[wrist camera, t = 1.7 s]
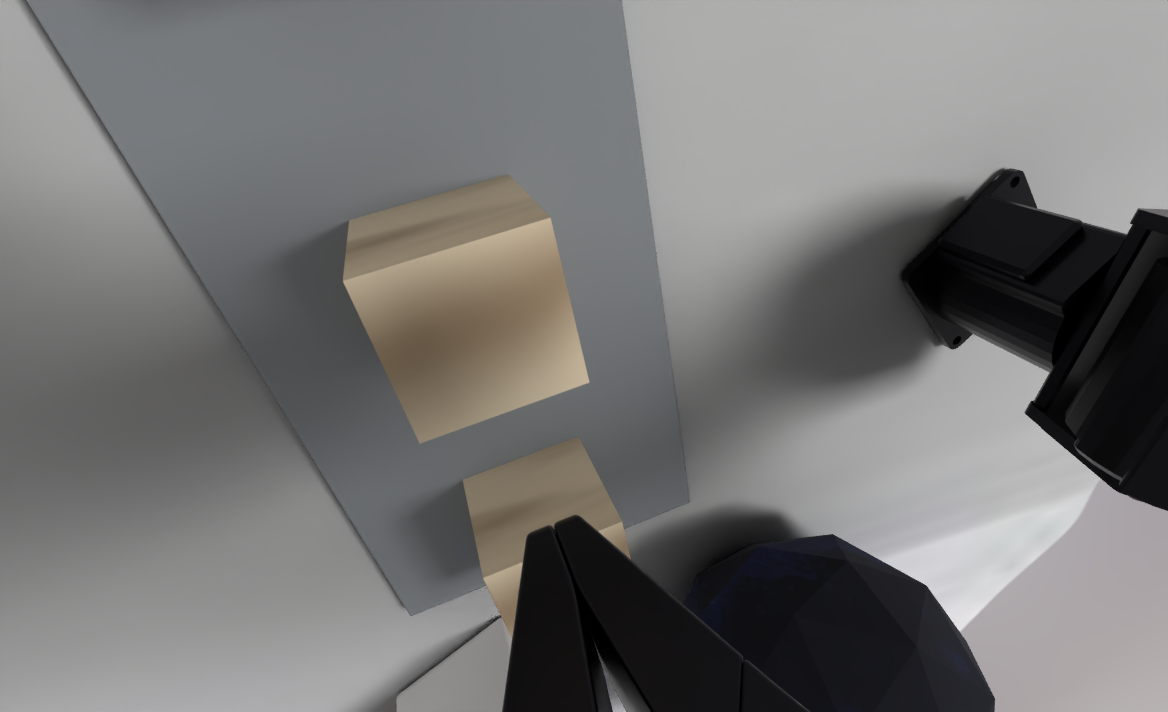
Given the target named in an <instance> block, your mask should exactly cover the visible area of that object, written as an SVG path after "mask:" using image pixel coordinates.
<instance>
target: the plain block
mask: <svg viewBox="0 0 1168 712" xmlns="http://www.w3.org/2000/svg"><path fill="white" fill-rule="evenodd" d="M343 283H344V285H345V287H346V289H347V291H348V293H349V295H350V297H351V300H352V302H353V304H354V306H355V308H356V310H357V312H358V314H359V317H360V319H361V321H362V323H363V325H364V327H365V329H366V331H367V333H368V336H369V338H370V340H371V342H372V344H373V346H374V348H375V350H376V352H377V355H378V357H379V359H380V361H381V363H382V365H383V367H384V369H385V371H386V374H387V376H388V378H389V380H390V382H391V384H392V386H393V388H394V390H395V393H396V395H397V397H398V399H399V401H400V403H401V405H402V407H403V409H404V412H405V414H406V416H407V418H408V420H409V422H410V424H411V426H412V428H413V431H414V433H415V435H416V437H417V439H418V441H419V443H423V442H426V441H429V440H431V439H434V438H437V437H440V436H442V435H445V434H448V433H451V432H454V431H456V430H459V429H462V428H465V427H467V426H470V425H473V424H476V423H479V422H481V421H484V420H487V419H490V418H492V417H495V416H498V415H501V414H504V413H506V412H509V411H512V410H515V409H517V408H520V407H523V406H526V405H529V404H531V403H534V402H537V401H540V400H542V399H545V398H548V397H551V396H554V395H556V394H559V393H562V392H565V391H567V390H570V389H573V388H576V387H579V386H581V385H584V384H587V383H590V382H589V378H588V374H587V370H586V366H585V361H584V357H583V353H582V349H581V344H580V340H579V336H578V332H577V327H576V323H575V319H574V315H573V311H572V306H571V302H570V298H569V294H568V289H567V285H566V281H565V277H564V272H563V268H562V264H561V260H560V256H559V251H558V247H557V243H556V239H555V234H554V230H553V226H552V222H551V218H550V217H549V215H548V214H547V213H546V212H545V211H544V210H543V209H542V208H541V207H540V206H539V205H538V204H537V203H536V202H535V201H534V200H533V199H532V198H531V197H530V196H529V195H528V194H527V193H526V192H525V191H524V190H523V189H522V188H521V186H520V185H519V184H518V183H517V182H516V181H515V180H514V179H513V178H512V177H511V176H510V175H509V174H508V175H504V176H501V177H497V178H494V179H490V180H487V181H483V182H480V183H476V184H473V185H469V186H466V187H462V188H459V189H456V190H452V191H449V192H445V193H442V194H438V195H435V196H431V197H428V198H424V199H421V200H417V201H414V202H411V203H407V204H404V205H400V206H397V207H393V208H390V209H386V210H383V211H379V212H376V213H372V214H369V215H366V216H362V217H359V218H355V219H352V220H349V226H348V236H347V245H346V255H345V264H344V274H343Z"/></svg>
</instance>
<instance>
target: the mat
mask: <svg viewBox="0 0 1168 712" xmlns="http://www.w3.org/2000/svg"><path fill="white" fill-rule="evenodd" d="M27 2H28V4H29V5H30V7H31V8H32V10H33V12H34V13H35V15H36V16H37V18H38V20H39V21H40V23H41V24H42V26H43V28H44V29H45V31H46V32H47V34H48V36H49V37H50V39H51V40H52V42H53V44H54V45H55V47H56V48H57V50H58V52H59V53H60V55H61V56H62V58H63V60H64V61H65V63H66V64H67V66H68V68H69V69H70V71H71V73H72V74H73V76H74V77H75V79H76V81H77V82H78V84H79V85H80V87H81V89H82V90H83V92H84V93H85V95H86V97H87V98H88V100H89V101H90V103H91V105H92V106H93V108H94V109H95V111H96V113H97V114H98V116H99V117H100V119H101V121H102V122H103V124H104V125H105V127H106V129H107V130H108V132H109V133H110V135H111V137H112V138H113V140H114V141H115V143H116V145H117V146H118V148H119V149H120V151H121V153H122V154H123V156H124V157H125V159H126V161H127V162H128V164H129V166H130V167H131V169H132V170H133V172H134V174H135V175H136V177H137V178H138V180H139V182H140V183H141V185H142V186H143V188H144V190H145V191H146V193H147V194H148V196H149V198H150V199H151V201H152V202H153V204H154V206H155V207H156V209H157V210H158V212H159V214H160V215H161V217H162V218H163V220H164V222H165V223H166V225H167V226H168V228H169V230H170V231H171V233H172V234H173V236H174V238H175V239H176V241H177V242H178V244H179V246H180V247H181V249H182V251H183V252H184V254H185V255H186V257H187V259H188V260H189V262H190V263H191V265H192V267H193V268H194V270H195V271H196V273H197V275H198V276H199V278H200V279H201V281H202V283H203V284H204V286H205V287H206V289H207V291H208V292H209V294H210V295H211V297H212V299H213V300H214V302H215V303H216V305H217V307H218V308H219V310H220V311H221V313H222V315H223V316H224V318H225V319H226V321H227V323H228V324H229V326H230V327H231V329H232V331H233V332H234V334H235V335H236V337H237V339H238V340H239V342H240V344H241V345H242V347H243V348H244V350H245V352H246V353H247V355H248V356H249V358H250V360H251V361H252V363H253V364H254V366H255V368H256V369H257V371H258V372H259V374H260V376H261V377H262V379H263V380H264V382H265V384H266V385H267V387H268V388H269V390H270V392H271V393H272V395H273V396H274V398H275V400H276V401H277V403H278V404H279V406H280V408H281V409H282V411H283V412H284V414H285V416H286V417H287V419H288V420H289V422H290V424H291V425H292V427H293V428H294V430H295V432H296V433H297V435H298V437H299V438H300V440H301V441H302V443H303V445H304V446H305V448H306V449H307V451H308V453H309V454H310V456H311V457H312V459H313V461H314V462H315V464H316V465H317V467H318V469H319V470H320V472H321V473H322V475H323V477H324V478H325V480H326V481H327V483H328V485H329V486H330V488H331V489H332V491H333V493H334V494H335V496H336V497H337V499H338V501H339V502H340V504H341V505H342V507H343V509H344V510H345V512H346V513H347V515H348V517H349V518H350V520H351V522H352V523H353V525H354V526H355V528H356V530H357V531H358V533H359V534H360V536H361V538H362V539H363V541H364V542H365V544H366V546H367V547H368V549H369V550H370V552H371V554H372V555H373V557H374V558H375V560H376V562H377V563H378V565H379V566H380V568H381V570H382V571H383V573H384V574H385V576H386V578H387V579H388V581H389V582H390V584H391V586H392V587H393V589H394V590H395V592H396V594H397V595H398V597H399V598H400V600H401V602H402V603H403V605H404V606H405V608H406V610H407V611H408V613H409V615H410V616H413V615H415V614H418V613H420V612H422V611H425V610H427V609H430V608H432V607H435V606H437V605H440V604H442V603H444V602H447V601H449V600H452V599H454V598H457V597H459V596H461V595H464V594H466V593H469V592H471V591H474V590H476V589H479V588H481V587H483V586H486V583H485V581H484V579H483V575H482V571H481V566H480V561H479V556H478V551H477V547H476V542H475V537H474V532H473V527H472V522H471V518H470V513H469V508H468V503H467V498H466V494H465V489H464V484H463V479H466V478H469V477H471V476H474V475H477V474H479V473H482V472H485V471H487V470H490V469H493V468H495V467H498V466H501V465H503V464H506V463H509V462H511V461H514V460H517V459H519V458H522V457H525V456H527V455H530V454H533V453H535V452H538V451H541V450H543V449H546V448H549V447H551V446H554V445H557V444H559V443H562V442H565V441H567V440H570V439H573V438H575V437H579V439H580V441H581V443H582V444H583V446H584V448H585V450H586V452H587V454H588V456H589V458H590V460H591V462H592V464H593V466H594V468H595V470H596V472H597V474H598V476H599V478H600V479H601V481H602V483H603V485H604V487H605V489H606V491H607V493H608V495H609V497H610V499H611V501H612V503H613V505H614V507H615V509H616V511H617V513H618V514H619V516H620V518H621V520H622V523H623V527H624V529H625V528H628V527H630V526H632V525H635V524H637V523H640V522H642V521H645V520H647V519H650V518H652V517H654V516H657V515H659V514H662V513H664V512H667V511H669V510H671V509H674V508H676V507H679V506H681V505H684V504H686V503H689V502H690V499H689V491H688V484H687V477H686V469H685V462H684V454H683V447H682V440H681V432H680V425H679V418H678V410H677V403H676V396H675V388H674V381H673V374H672V366H671V359H670V352H669V344H668V337H667V329H666V322H665V315H664V307H663V300H662V293H661V285H660V278H659V271H658V263H657V256H656V249H655V241H654V234H653V227H652V219H651V212H650V205H649V197H648V190H647V182H646V175H645V168H644V160H643V153H642V146H641V138H640V131H639V124H638V116H637V109H636V102H635V94H634V87H633V80H632V72H631V65H630V57H629V50H628V43H627V35H626V28H625V21H624V13H623V6H622V0H27ZM508 174H509V175H510V176H511V177H512V178H513V179H514V180H515V181H516V182H517V183H518V184H519V185H520V186H521V188H522V189H523V190H524V191H525V192H526V193H527V194H528V195H529V196H530V197H531V198H532V199H533V200H534V201H535V202H536V203H537V204H538V205H539V206H540V207H541V208H542V209H543V210H544V211H545V212H546V213H547V214H548V215H549V217H550V218H551V222H552V226H553V230H554V234H555V239H556V243H557V247H558V251H559V256H560V260H561V264H562V268H563V272H564V277H565V281H566V285H567V289H568V294H569V298H570V302H571V306H572V311H573V315H574V319H575V323H576V327H577V332H578V336H579V340H580V344H581V349H582V353H583V357H584V361H585V366H586V370H587V374H588V378H589V382H590V383H587V384H584V385H581V386H579V387H576V388H573V389H570V390H567V391H565V392H562V393H559V394H556V395H554V396H551V397H548V398H545V399H542V400H540V401H537V402H534V403H531V404H529V405H526V406H523V407H520V408H517V409H515V410H512V411H509V412H506V413H504V414H501V415H498V416H495V417H492V418H490V419H487V420H484V421H481V422H479V423H476V424H473V425H470V426H467V427H465V428H462V429H459V430H456V431H454V432H451V433H448V434H445V435H442V436H440V437H437V438H434V439H431V440H429V441H426V442H423V443H419V441H418V439H417V437H416V435H415V433H414V431H413V428H412V426H411V424H410V422H409V420H408V418H407V416H406V414H405V412H404V409H403V407H402V405H401V403H400V401H399V399H398V397H397V395H396V393H395V390H394V388H393V386H392V384H391V382H390V380H389V378H388V376H387V374H386V371H385V369H384V367H383V365H382V363H381V361H380V359H379V357H378V355H377V352H376V350H375V348H374V346H373V344H372V342H371V340H370V338H369V336H368V333H367V331H366V329H365V327H364V325H363V323H362V321H361V319H360V317H359V314H358V312H357V310H356V308H355V306H354V304H353V302H352V300H351V297H350V295H349V293H348V291H347V289H346V287H345V285H344V283H343V274H344V264H345V255H346V245H347V236H348V226H349V220H352V219H355V218H359V217H362V216H366V215H369V214H372V213H376V212H379V211H383V210H386V209H390V208H393V207H397V206H400V205H404V204H407V203H411V202H414V201H417V200H421V199H424V198H428V197H431V196H435V195H438V194H442V193H445V192H449V191H452V190H456V189H459V188H462V187H466V186H469V185H473V184H476V183H480V182H483V181H487V180H490V179H494V178H497V177H501V176H504V175H508Z"/></svg>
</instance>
